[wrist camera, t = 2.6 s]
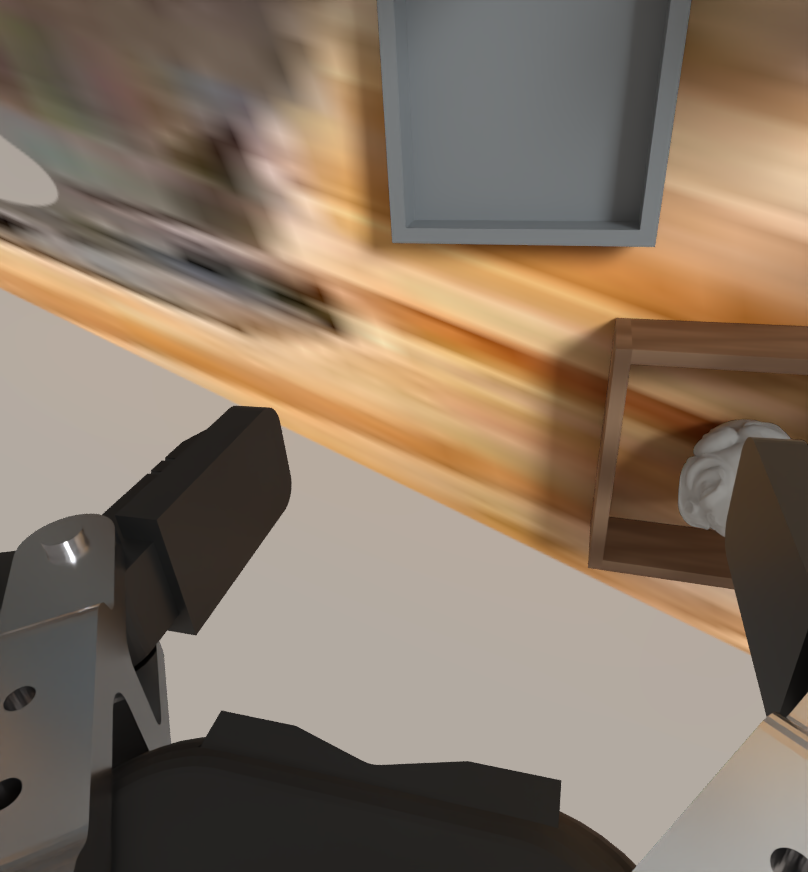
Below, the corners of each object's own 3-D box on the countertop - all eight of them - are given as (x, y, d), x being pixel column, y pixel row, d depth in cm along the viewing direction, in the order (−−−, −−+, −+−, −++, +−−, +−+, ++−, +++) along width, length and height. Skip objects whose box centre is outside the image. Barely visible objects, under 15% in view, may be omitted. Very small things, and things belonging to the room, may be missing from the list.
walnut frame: (616, 318, 36) (616, 348, 32) (925, 331, 32) (966, 368, 28) (590, 523, 43) (588, 567, 40) (837, 555, 39) (860, 607, 36)
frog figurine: (652, 426, 38) (658, 491, 33) (773, 376, 35) (804, 440, 29) (695, 499, 40) (708, 573, 35) (815, 459, 37) (852, 534, 31)
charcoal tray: (389, -62, 30) (372, -71, 28) (700, -100, 26) (708, -113, 24) (405, 231, 37) (392, 242, 34) (652, 234, 33) (654, 246, 31)
